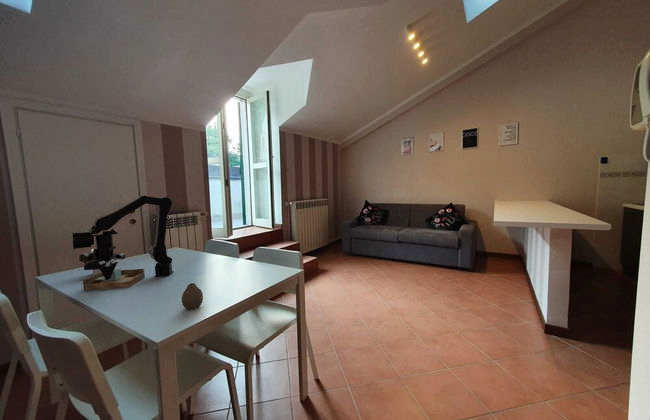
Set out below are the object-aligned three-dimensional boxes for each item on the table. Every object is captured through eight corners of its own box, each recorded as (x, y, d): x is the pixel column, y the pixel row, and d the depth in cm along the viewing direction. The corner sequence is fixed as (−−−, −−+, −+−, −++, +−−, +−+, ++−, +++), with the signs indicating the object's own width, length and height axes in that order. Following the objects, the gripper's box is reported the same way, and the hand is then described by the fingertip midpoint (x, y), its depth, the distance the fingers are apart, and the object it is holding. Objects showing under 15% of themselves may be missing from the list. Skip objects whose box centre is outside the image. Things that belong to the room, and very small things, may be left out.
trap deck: (144, 277, 129) (144, 268, 129) (129, 287, 116) (128, 277, 116) (103, 280, 126) (103, 271, 126) (83, 290, 113) (82, 280, 113)
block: (121, 276, 123) (120, 268, 123) (115, 280, 118) (114, 271, 118) (110, 277, 122) (109, 269, 122) (104, 281, 118) (103, 272, 117)
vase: (187, 304, 98) (185, 281, 97) (206, 303, 99) (204, 280, 98) (178, 312, 91) (177, 288, 91) (199, 311, 92) (197, 287, 91)
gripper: (98, 242, 123) (101, 274, 124) (66, 251, 104) (70, 288, 106) (124, 240, 125) (127, 272, 126) (98, 249, 106) (101, 286, 108)
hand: (107, 279), depth 116 cm, fingers closed
